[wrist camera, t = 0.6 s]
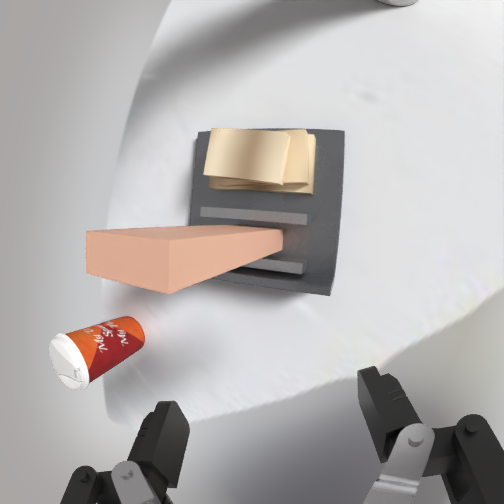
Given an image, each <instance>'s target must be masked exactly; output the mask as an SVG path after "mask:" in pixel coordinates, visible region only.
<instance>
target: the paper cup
mask: <svg viewBox="0 0 504 504" xmlns="http://www.w3.org/2000/svg"><path fill="white" fill-rule="evenodd" d="M144 342H145V336H144V332H143V329H142V327H141V326H140V324H139V323H138V322H137V321H136V320H135V319H134V318H132V317H129V316H126V317H121V318H118V319H114V320H111V321H107V322H104V323H101V324H97V325H94V326H91V327H87V328H84V329H81V330H78V331H74V332H71V333H67V334H62V333H59V334H57V335H56V336H55V338H54V339H52V341H51V342H50V346H49V353H50V358H51V362H52V364H53V366H54V369H55V371H56V373H57V374H58V376H59V378H60V379H61V380H62V381H63V383H64V384H66V385H67V386H68V387H69V388H71V389H85V388H87V387H88V385H89V383H90V382H92V381H93V380H95V379H96V378H98V377H99V376H101V375H102V374H104V373H105V372H107V371H108V370H110V369H112V368H113V367H115V366H116V365H118V364H119V363H121V362H122V361H124V360H125V359H126V358H128V357H129V356H131V355H132V354H134V353H135V352H137V351H138V350H139V349H141V348H142V347H143V345H144Z"/></svg>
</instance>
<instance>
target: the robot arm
mask: <svg viewBox="0 0 504 504" xmlns="http://www.w3.org/2000/svg"><path fill="white" fill-rule="evenodd" d="M377 1H379V2H382V3H386V4H390V5H396V6H406V5H411V4H414V3H415V2H417V0H377ZM357 376H358V398H359V403H360V407H361V410H362V412H363V415H364V418H365V420H366V423H367V426H368V429H369V431H370V434H371V437H372V439H373V442H374V445H375V448H376V451H377V454H378V457H379V459H380V463H384V462H387V463H386V465H385V467H384V469H383V471H382V473H381V475H380V477H379V479H378V480H376V482H375V483H374V485H373V487H372V488H371V490H370V492H369V494H368V496H367V497H366V499H365V501H364V503H363V504H411V503H412V501H413V498H414V496H415V494H416V491H417V489H418V485H419V482H420V479H421V477H426V476H433V475H439V474H441V476H442V479H443V482H444V485H445V487H446V490H447V493H448V496H449V499H450V502H451V504H504V450H503V449H502V447H501V445H500V443H499V441H498V440H497V438H496V436H495V434H494V433H493V431H492V429H491V428H490V426H489V424H488V423H487V421H486V420H485V419H484V418H483V417H482V416H480V415H476V414H470V415H467V416H464V417H463V418H462V419H460V420H459V422H458V423H457V425H456V426H452V427H445V428H438V429H437V428H431V427H429V426H428V425H425V424H423V423H422V422H421V421H420V419H419V417H418V415H417V413H416V412H415V410H414V408H413V406H412V404H411V403H410V401H409V399H408V397H407V396H406V394H405V392H404V390H402V387H401V385H400V383H399V382H398V380H397V379H396V378H394V377H393V376H391V375H390V374H389V373H388V374H385V375H382V376H380V374H379V372H378V370H377V368H376V367H375V366H372V367H369V368H365V369H362V370H358V373H357ZM189 433H190V428H189V424H188V421H187V419H186V418H185V416H184V414H183V413H182V411H181V409H180V407H179V406H178V404H177V403H176V402H175V401H160V402H158V403H157V405H156V408H155V410H154V412H150V413H149V414H148V415H147V416H146V417H145V419H144V420H143V422H142V424H141V427H140V430H139V432H138V436H137V437H136V439H135V442H134V444H133V447H132V449H131V452H130V454H129V457H128V459H127V461H123V462H120V463H119V464H117V465H116V466H115V467H114V468H113V470H112V471H106V472H96V471H95V470H94V469H93V468H92V467H90V466H81V467H79V468H77V469H76V470H75V471H74V473H73V474H72V477H71V479H70V481H69V484H68V486H67V489H66V491H65V493H64V496H63V498H62V501H61V503H60V504H96V503H97V504H173V502H172V501H171V499H170V498H169V496H168V495H167V493H166V491H167V488H177V484H178V479H179V475H180V471H181V467H182V463H183V458H184V453H185V450H186V446H187V441H188V437H189Z"/></svg>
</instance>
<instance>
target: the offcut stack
mask: <svg viewBox="0 0 504 504" xmlns="http://www.w3.org/2000/svg"><path fill="white" fill-rule="evenodd" d="M315 146H316V138H315V136H314V134H308V133H307V131H306V129H299V130H280V131H266V130H250V129H225V128H212V129H211V134H210V140H209V145H208V151H207V156H206V162H205V168H204V174H203V175H206V176H210V178H209V188H210V189H214V190H240V191H263V192H281V193H296V194H310V195H313V184H314V167H315Z"/></svg>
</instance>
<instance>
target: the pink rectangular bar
mask: <svg viewBox="0 0 504 504" xmlns="http://www.w3.org/2000/svg"><path fill="white" fill-rule="evenodd" d="M283 233H284V229H277V228H267V227H256V226H244V225H205V226H176V227H151V228H130V229H111V230H94V231H86V270H87V271H86V272H87V274H91V275H94V276H98V277H102V278H105V279H109V280H113V281H117V282H121V283H124V284H128V285H132V286H136V287H140V288H144V289H148V290H153V291H157V292H161V293H165V294H170V293H173V292H176V291H178V290H181V289H183V288H186V287H189V286H191V285H194V284H196V283H199V282H202V281H204V280H207V279H209V278H212V277H214V276H217V275H220V274H222V273H225V272H227V271H230V270H232V269H235V268H238V267H240V266H243V265H245V264H248V263H250V262H253V261H255V260H258V259H261V258H263V257H266V256H268V255H271V254H273V253H276V252H278V251H281V250H282V245H283Z"/></svg>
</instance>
